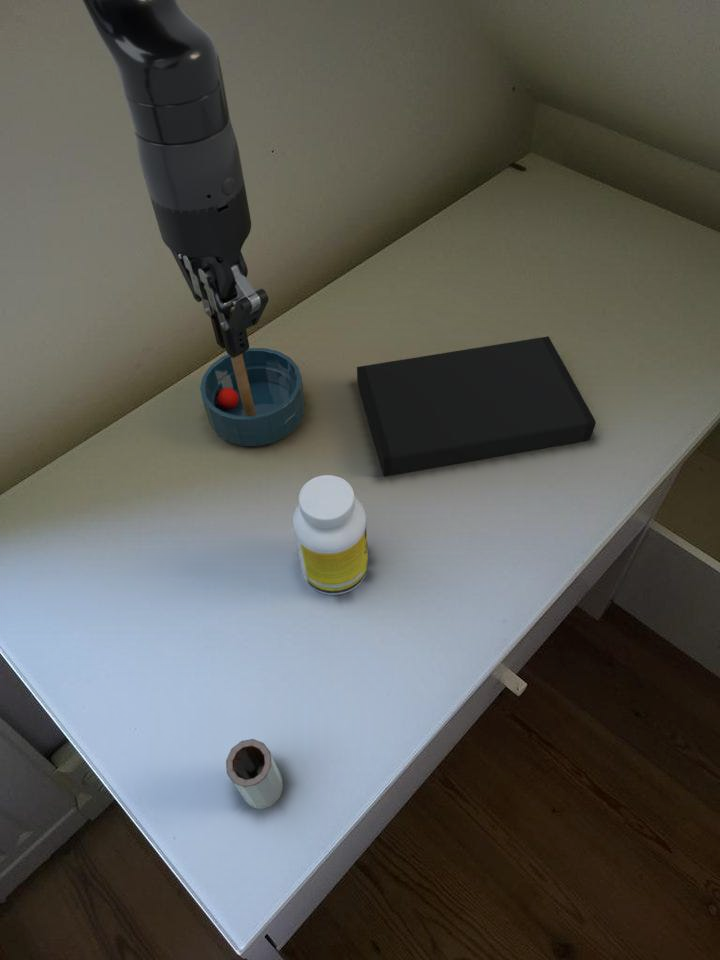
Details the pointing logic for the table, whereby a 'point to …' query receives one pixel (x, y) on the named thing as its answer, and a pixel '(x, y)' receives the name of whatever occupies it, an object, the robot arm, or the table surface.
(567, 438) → the external hard drive
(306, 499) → the pill bottle
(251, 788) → the holder
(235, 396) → the ball
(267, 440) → the bowl
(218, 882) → the table surface
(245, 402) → the stick
